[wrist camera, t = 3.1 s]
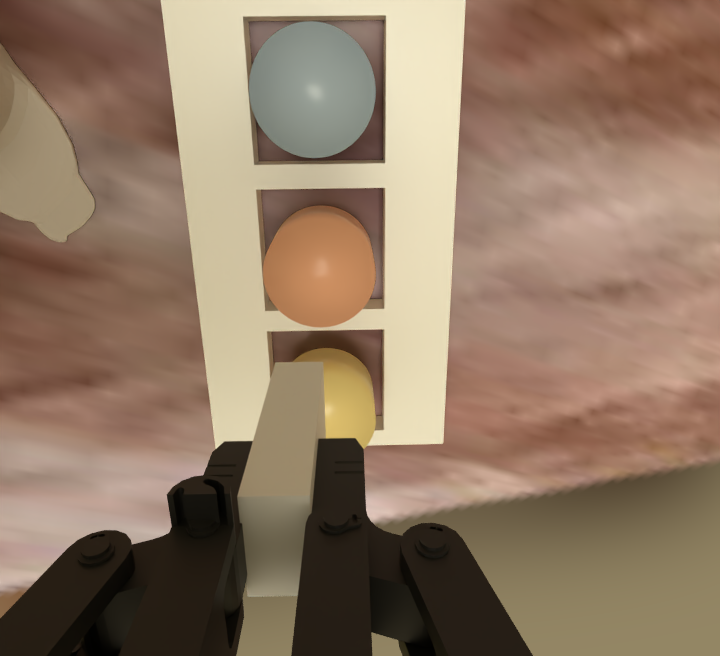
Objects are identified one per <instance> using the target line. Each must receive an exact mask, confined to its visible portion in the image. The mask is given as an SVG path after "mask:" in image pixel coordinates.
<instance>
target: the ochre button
mask: <svg viewBox="0 0 720 656" xmlns="http://www.w3.org/2000/svg"><path fill="white" fill-rule="evenodd" d="M293 362H323V370H324V400H325V429H326V438H356V440H357V441H358V442H359V444H360V445H361V446H362V447H363V449H364V448H365V447H366V446H367V445H368V443H369V442H370V440H371V438H372V436H373V434H374V430H375V425H376V416H375V405H374V395H373V384H372V379H371V376H370V374H369V372H368V370H367V368H366V367H365V366H364V364H363V363H362V362H361V361H360V360H359V359H357V358H356V357H355V356H353V355H351V354H350V353H348V352H345V351H342V350H339V349H334V348H319V349H314V350H311V351H308V352H306V353H304V354H302V355H300V356H299V357H297V358H296V359H295V360H294V361H293Z"/></svg>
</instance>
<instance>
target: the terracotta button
mask: <svg viewBox="0 0 720 656" xmlns="http://www.w3.org/2000/svg"><path fill="white" fill-rule="evenodd" d="M375 279H376V270H375V262H374V257H373V251H372V246H371V242H370V239H369V236H368V234H367V232H366V230H365V229H364V227H363V226H362V225H361V223H360V222H359V221H358V220H357V219H356V218H354V217H353V216H352V215H351V214H349V213H347V212H346V211H344V210H341V209H339V208H336V207H332V206H324V205H319V206H311V207H307V208H304V209H301V210H299V211H297V212H295V213H294V214H292V215H291V216H289V217H288V218H287V219H286V220H285V221H284V222H283V224H282V225H281V226H280V228H279V229H278V231H277V233H276V235H275V237H274V239H273V241H272V243H271V245H270V247H269V249H268V251H267V253H266V256H265V260H264V265H263V280H264V285H265V288H266V291H267V293H268V296H269V298H270V299H271V301H272V303H273V304H274V305H275V306H276V308H277V309H278V310H279V311H280V312H281V313H282V314H284V315H285V316H286V317H288V318H289V319H291V320H293V321H295V322H297V323H299V324H302V325H306V326H310V327H331V326H335V325H338V324H341V323H344V322H346V321H348V320H350V319H351V318H353V317H354V316H355V315H357V314H358V313H359V312H360V311H361V310H362V309H363V308H364V307H365V305H366V304H367V302H368V301H369V299H370V297H371V295H372V292H373V289H374V285H375Z"/></svg>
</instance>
